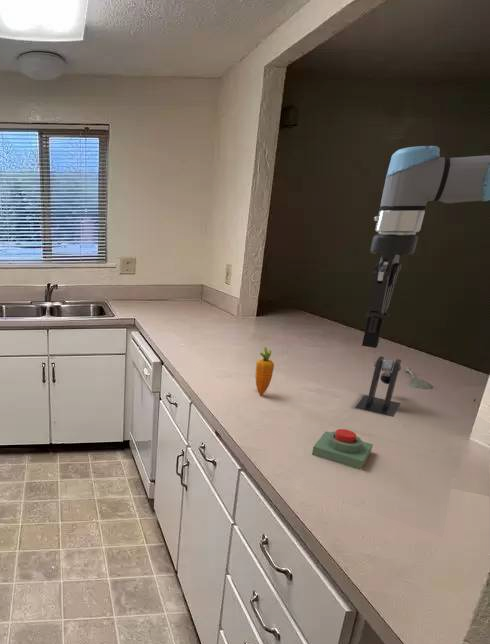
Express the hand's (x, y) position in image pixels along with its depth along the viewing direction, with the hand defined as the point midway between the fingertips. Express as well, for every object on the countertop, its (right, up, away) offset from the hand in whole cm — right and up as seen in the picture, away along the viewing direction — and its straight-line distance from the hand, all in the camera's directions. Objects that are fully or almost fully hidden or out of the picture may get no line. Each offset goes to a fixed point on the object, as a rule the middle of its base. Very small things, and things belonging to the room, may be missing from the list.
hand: (369, 346), depth 96 cm
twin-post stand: (+20, -16, +27) cm, 38 cm away
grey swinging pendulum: (+22, -7, +27) cm, 35 cm away
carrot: (-9, -12, +38) cm, 41 cm away
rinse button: (-3, -21, +3) cm, 22 cm away
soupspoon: (+46, -8, +48) cm, 67 cm away
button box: (-3, -25, +5) cm, 25 cm away
